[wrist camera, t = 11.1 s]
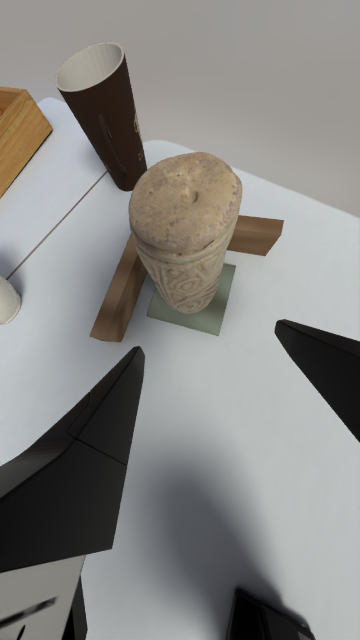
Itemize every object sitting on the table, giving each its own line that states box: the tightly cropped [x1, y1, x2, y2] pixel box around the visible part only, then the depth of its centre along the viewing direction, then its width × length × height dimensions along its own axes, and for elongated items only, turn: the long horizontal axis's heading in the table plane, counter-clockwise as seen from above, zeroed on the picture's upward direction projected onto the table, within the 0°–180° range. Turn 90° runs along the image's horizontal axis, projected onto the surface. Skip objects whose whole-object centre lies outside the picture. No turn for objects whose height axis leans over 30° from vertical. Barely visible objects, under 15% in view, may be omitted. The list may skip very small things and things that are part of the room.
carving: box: [129, 152, 242, 314], centre depth 12 cm, size 6×8×12 cm
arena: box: [90, 215, 284, 342], centre depth 17 cm, size 19×18×4 cm
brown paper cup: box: [55, 42, 147, 191], centre depth 19 cm, size 12×9×10 cm
